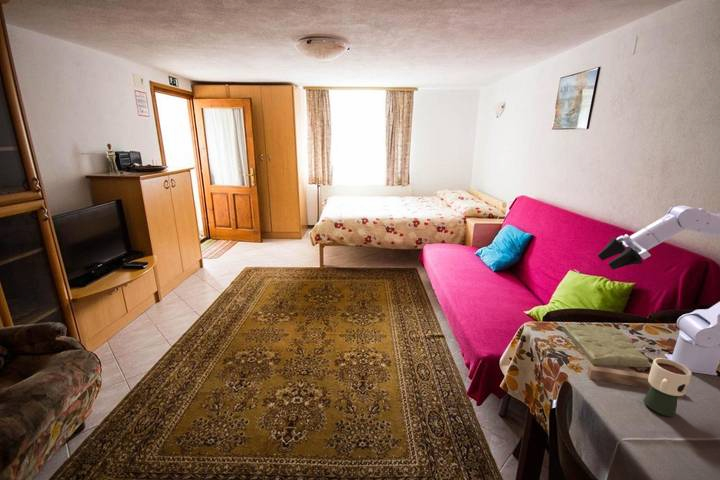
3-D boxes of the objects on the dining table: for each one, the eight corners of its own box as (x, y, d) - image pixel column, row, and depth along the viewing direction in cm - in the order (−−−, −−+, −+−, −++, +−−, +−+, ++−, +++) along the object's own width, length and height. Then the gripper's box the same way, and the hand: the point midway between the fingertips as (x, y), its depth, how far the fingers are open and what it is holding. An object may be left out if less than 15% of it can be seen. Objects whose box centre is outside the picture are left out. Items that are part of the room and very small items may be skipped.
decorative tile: (591, 365, 103) (593, 356, 102) (560, 330, 122) (562, 322, 121) (655, 370, 101) (658, 360, 100) (614, 333, 120) (616, 325, 119)
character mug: (671, 427, 80) (687, 383, 76) (635, 409, 85) (648, 367, 81) (681, 406, 86) (696, 365, 82) (646, 391, 91) (659, 351, 88)
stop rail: (674, 387, 93) (677, 378, 92) (679, 392, 91) (682, 383, 90) (586, 374, 98) (588, 365, 97) (589, 378, 96) (591, 369, 95)
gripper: (630, 219, 102) (587, 245, 107) (657, 232, 89) (607, 260, 94) (643, 236, 102) (600, 261, 108) (672, 252, 89) (621, 279, 94)
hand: (604, 262), depth 101 cm, fingers open, 7 cm apart
